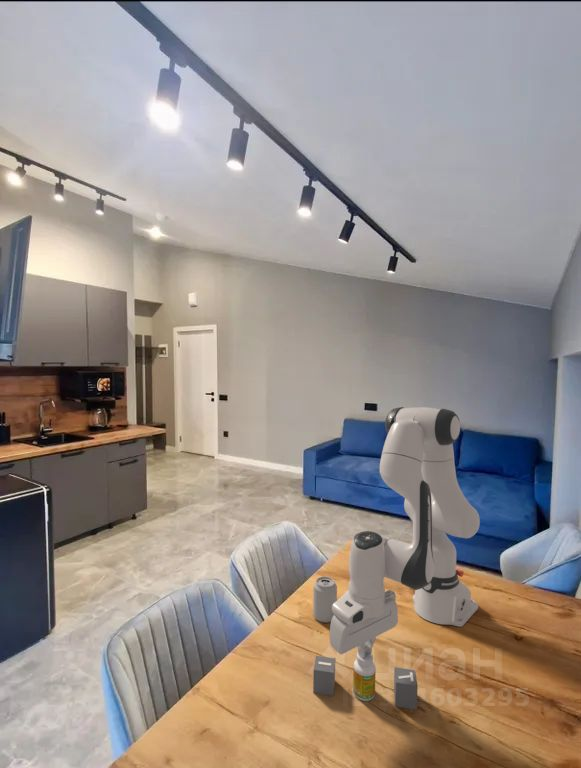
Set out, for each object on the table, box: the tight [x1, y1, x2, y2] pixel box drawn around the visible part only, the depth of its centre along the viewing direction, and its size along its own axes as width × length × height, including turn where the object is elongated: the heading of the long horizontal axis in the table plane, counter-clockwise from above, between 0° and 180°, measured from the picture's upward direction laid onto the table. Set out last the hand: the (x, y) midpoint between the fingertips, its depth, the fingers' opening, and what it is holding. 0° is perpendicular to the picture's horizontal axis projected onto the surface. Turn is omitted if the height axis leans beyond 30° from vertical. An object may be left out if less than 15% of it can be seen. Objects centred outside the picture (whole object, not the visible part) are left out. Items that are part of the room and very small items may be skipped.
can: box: [312, 575, 338, 624], centre depth 132 cm, size 8×8×12 cm
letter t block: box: [393, 666, 418, 711], centre depth 100 cm, size 5×5×6 cm
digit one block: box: [312, 655, 336, 697], centre depth 103 cm, size 5×5×6 cm
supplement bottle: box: [352, 651, 377, 702], centre depth 102 cm, size 5×5×10 cm
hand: (364, 654), depth 101 cm, fingers closed
